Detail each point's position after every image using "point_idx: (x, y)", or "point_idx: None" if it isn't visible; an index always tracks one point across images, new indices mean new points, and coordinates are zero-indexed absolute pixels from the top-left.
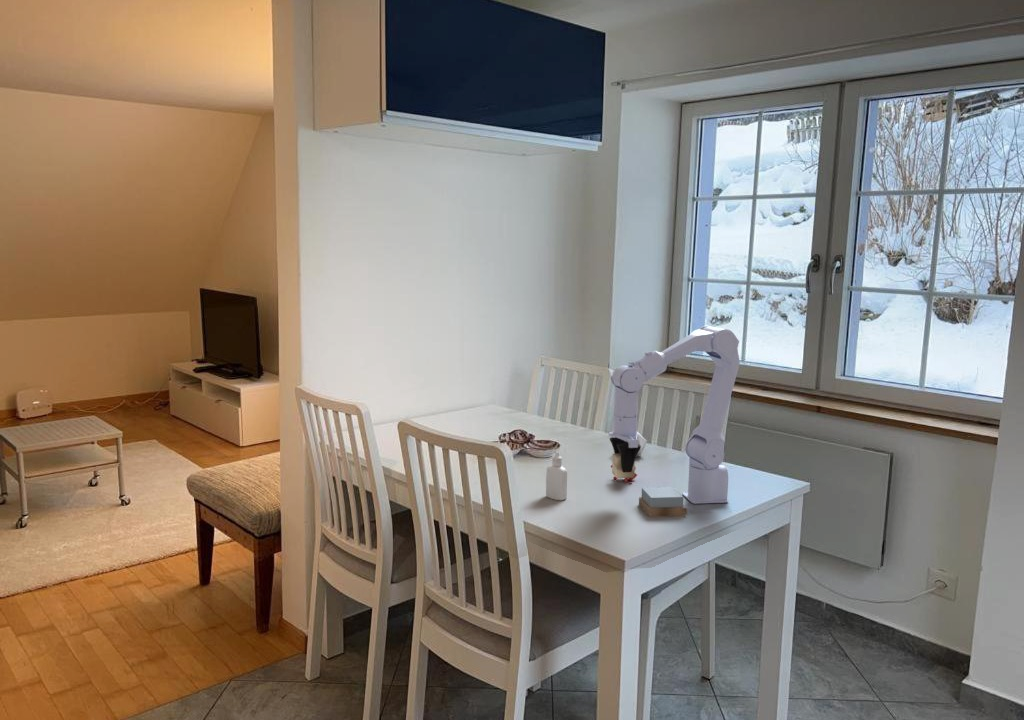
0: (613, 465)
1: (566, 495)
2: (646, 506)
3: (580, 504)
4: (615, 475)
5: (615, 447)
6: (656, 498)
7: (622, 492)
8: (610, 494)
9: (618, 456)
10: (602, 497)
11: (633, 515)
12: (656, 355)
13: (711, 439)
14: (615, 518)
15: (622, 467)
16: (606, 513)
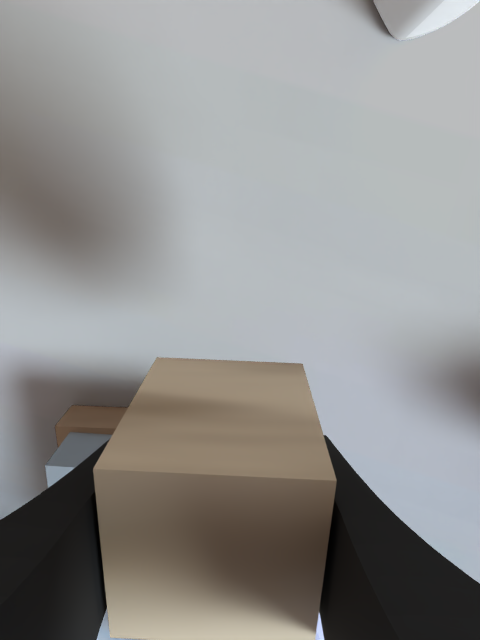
0: (271, 399)
1: (397, 29)
2: (118, 423)
3: (283, 113)
4: (198, 363)
5: (360, 590)
6: (49, 486)
7: (424, 396)
8: (411, 332)
9: (183, 504)
10: (374, 277)
11: (90, 343)
12: None
13: None
14: (47, 246)
15: (102, 446)
16: (122, 223)
